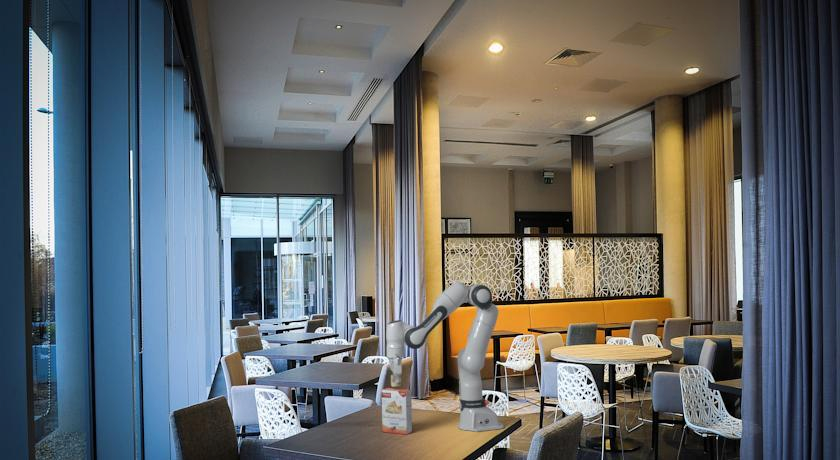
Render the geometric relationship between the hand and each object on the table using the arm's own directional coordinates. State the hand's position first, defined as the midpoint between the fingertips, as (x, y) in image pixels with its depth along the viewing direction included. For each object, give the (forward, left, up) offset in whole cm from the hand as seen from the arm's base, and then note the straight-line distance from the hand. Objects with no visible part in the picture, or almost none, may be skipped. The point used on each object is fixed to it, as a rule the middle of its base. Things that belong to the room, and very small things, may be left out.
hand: (396, 381), depth 311 cm
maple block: (0, 0, -2) cm, 2 cm away
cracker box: (0, 0, -25) cm, 25 cm away
